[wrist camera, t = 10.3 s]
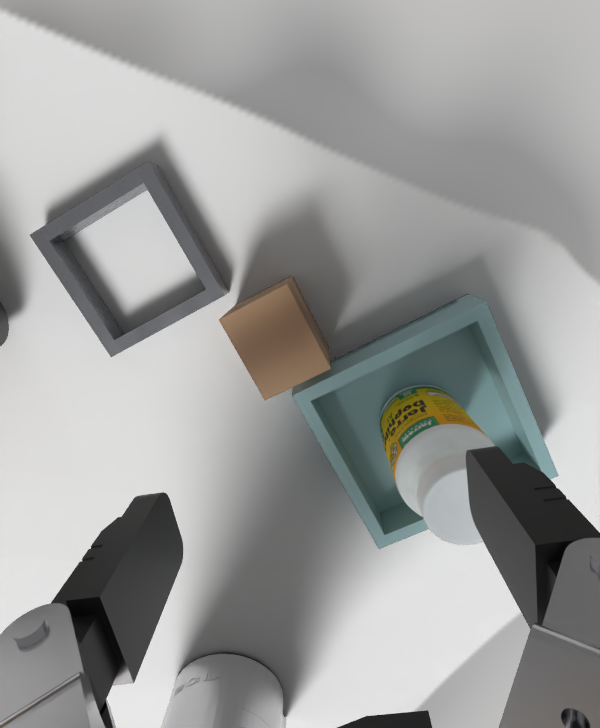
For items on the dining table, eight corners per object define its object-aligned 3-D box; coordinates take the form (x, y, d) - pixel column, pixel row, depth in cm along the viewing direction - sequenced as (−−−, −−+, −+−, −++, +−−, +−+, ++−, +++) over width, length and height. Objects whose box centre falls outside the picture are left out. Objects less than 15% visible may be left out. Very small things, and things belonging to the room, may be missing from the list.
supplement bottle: (429, 470, 29) (480, 578, 20) (361, 434, 29) (383, 527, 20) (477, 406, 28) (556, 490, 19) (407, 366, 27) (453, 433, 18)
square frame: (229, 292, 27) (224, 295, 26) (121, 350, 28) (111, 357, 27) (157, 165, 25) (147, 161, 24) (45, 235, 27) (29, 235, 25)
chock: (328, 345, 28) (330, 368, 23) (273, 372, 29) (264, 400, 24) (292, 275, 27) (286, 284, 22) (235, 305, 27) (218, 319, 23)
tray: (535, 452, 29) (558, 475, 27) (373, 520, 31) (378, 549, 29) (467, 294, 27) (486, 301, 24) (294, 379, 29) (292, 395, 26)
